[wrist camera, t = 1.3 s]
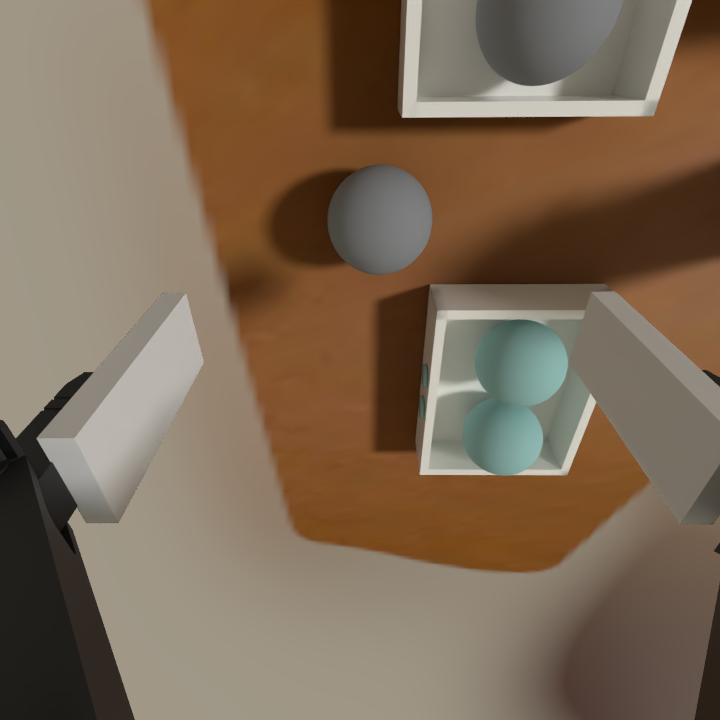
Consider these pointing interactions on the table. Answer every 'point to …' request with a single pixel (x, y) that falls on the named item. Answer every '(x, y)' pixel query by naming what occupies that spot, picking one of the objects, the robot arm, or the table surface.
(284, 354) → the table surface
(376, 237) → the charcoal ball
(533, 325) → the teal ball
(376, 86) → the table surface
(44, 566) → the robot arm
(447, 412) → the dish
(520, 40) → the charcoal ball
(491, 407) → the teal ball
